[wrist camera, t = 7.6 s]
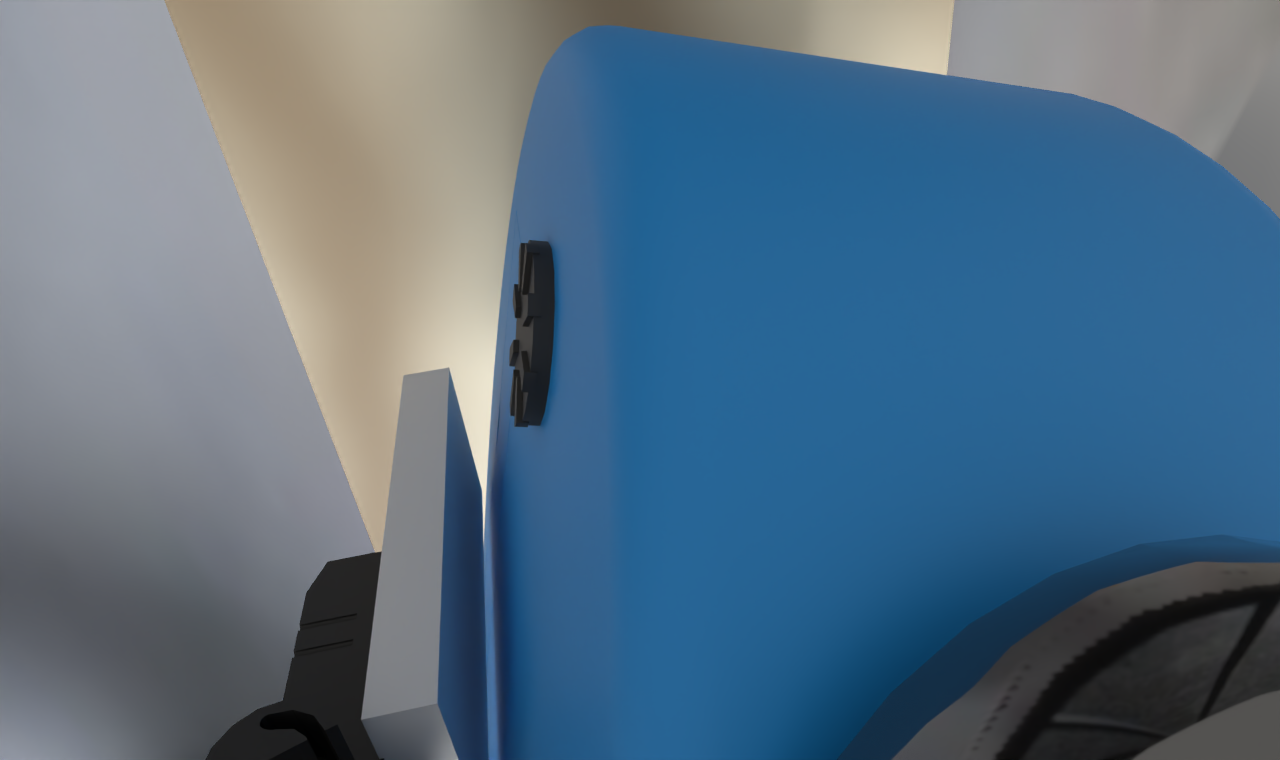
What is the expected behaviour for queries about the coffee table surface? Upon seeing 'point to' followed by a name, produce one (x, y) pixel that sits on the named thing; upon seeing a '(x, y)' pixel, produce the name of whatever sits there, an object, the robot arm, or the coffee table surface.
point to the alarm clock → (875, 422)
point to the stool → (433, 168)
